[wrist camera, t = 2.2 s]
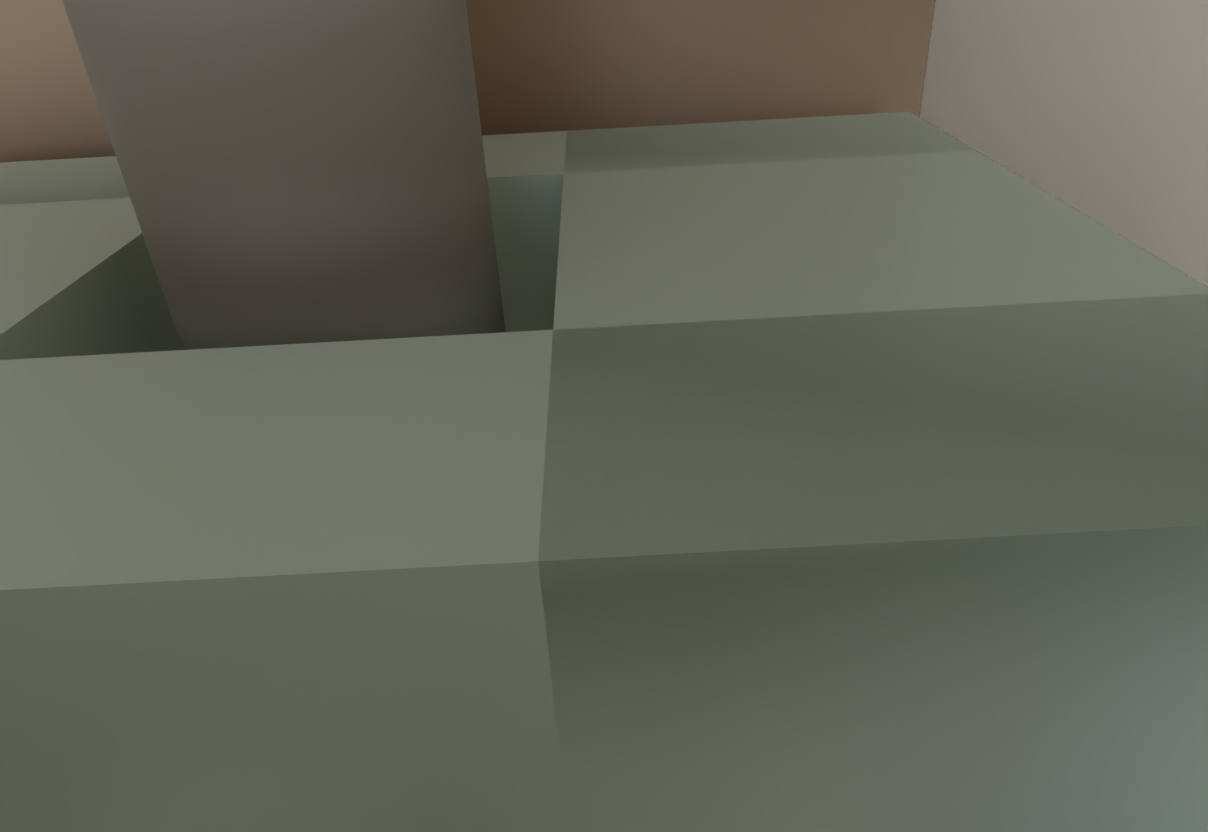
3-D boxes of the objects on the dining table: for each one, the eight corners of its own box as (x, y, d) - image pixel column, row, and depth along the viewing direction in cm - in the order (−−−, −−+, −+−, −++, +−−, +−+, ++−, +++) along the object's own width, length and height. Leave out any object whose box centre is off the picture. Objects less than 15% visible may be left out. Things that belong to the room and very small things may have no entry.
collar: (887, 281, 10) (1352, 834, 4) (-3, 331, 10) (-885, 952, 4) (909, 111, 9) (1576, 503, 3) (-80, 166, 9) (-1405, 667, 3)
